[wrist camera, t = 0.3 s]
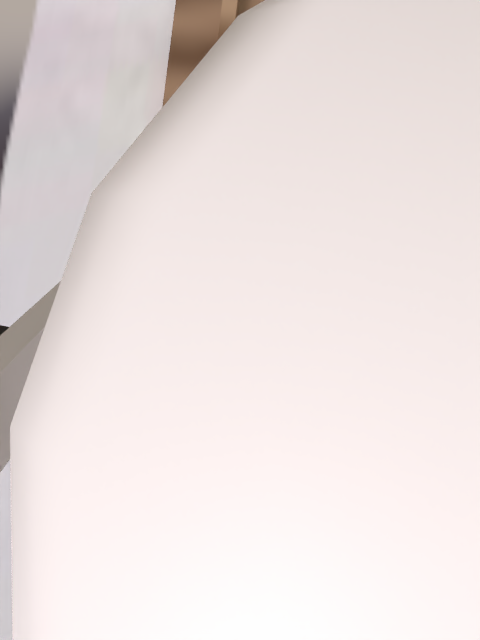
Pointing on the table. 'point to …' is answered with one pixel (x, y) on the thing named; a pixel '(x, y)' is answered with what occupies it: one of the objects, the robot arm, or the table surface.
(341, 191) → the bottle
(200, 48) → the can rest
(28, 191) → the table surface
